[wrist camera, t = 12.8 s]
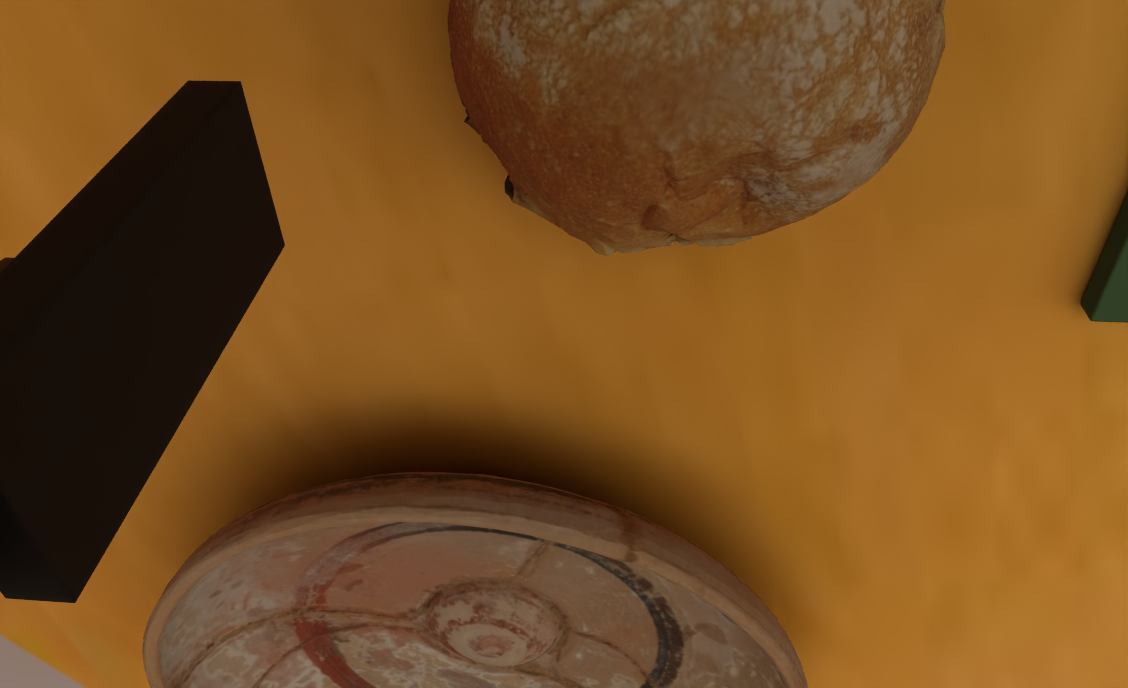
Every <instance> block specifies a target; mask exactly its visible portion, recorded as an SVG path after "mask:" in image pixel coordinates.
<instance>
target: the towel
mask: <svg viewBox="0 0 1128 688" xmlns="http://www.w3.org/2000/svg"><path fill="white" fill-rule="evenodd" d="M1081 306H1082V307H1083V309H1084V311H1085V312H1086V314H1087V316H1088V317H1089V319H1090V320H1091V321H1101V322H1128V194H1127V196H1126V198H1125V201H1124V203H1123V205H1122V208H1121V210H1120V212H1119V215H1118V217H1117V219H1116V222H1115V224H1114V226H1113V229H1112V231H1111V233H1110V236H1109V238H1108V240H1107V243H1106V245H1105V247H1104V250H1103V252H1102V254H1101V257H1100V259H1099V261H1098V264H1097V266H1096V269H1095V271H1094V273H1093V276H1092V278H1091V280H1090V283H1089V285H1088V287H1087V290H1086V292H1085V294H1084V297H1083V299H1082V301H1081Z"/></svg>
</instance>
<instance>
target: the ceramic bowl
mask: <svg viewBox="0 0 1128 688" xmlns="http://www.w3.org/2000/svg"><path fill="white" fill-rule="evenodd" d="M143 639H144V641H143V660H144V667H145V671H146V674H147V677H148V681H149V684H150V686H151V688H808V685H807V681H806V678H805V675H804V672H803V669H802V666H801V663H800V661H799V658H798V656H797V654H796V652H795V650H794V648H793V646H792V644H791V642H790V640H789V638H788V636H787V634H786V632H785V631H784V629H783V628H782V626H781V625H780V623H779V622H778V620H777V618H776V617H775V616H774V615H773V614H772V613H771V611H770V610H769V609H768V608H767V607H766V606H765V605H764V604H763V602H762V601H761V600H760V599H759V598H758V597H757V596H756V595H755V594H754V592H753V591H752V590H750V589H749V588H748V587H747V586H746V585H745V584H744V583H743V582H742V581H740V580H739V579H738V578H737V577H736V576H735V575H734V574H733V573H732V572H730V571H729V570H728V569H727V568H726V567H724V566H723V565H722V564H721V563H719V562H718V561H717V560H715V559H714V558H713V557H711V556H710V555H708V554H707V553H706V552H704V551H703V550H701V549H700V548H699V547H697V546H695V545H694V544H692V543H690V542H689V541H687V540H686V539H684V538H682V537H681V536H679V535H677V534H676V533H674V532H672V531H670V530H668V529H666V528H664V527H662V526H660V525H658V524H656V523H654V522H652V521H650V520H648V519H646V518H644V517H642V516H639V515H637V514H635V513H633V512H631V511H628V510H626V509H623V508H620V507H617V506H615V505H612V504H609V503H606V502H602V501H597V500H594V499H590V498H587V497H584V496H581V495H577V494H574V493H571V492H568V491H564V490H561V489H557V488H553V487H549V486H545V485H541V484H537V483H531V482H526V481H520V480H514V479H508V478H502V477H497V476H491V475H485V474H464V473H442V472H407V473H391V474H381V475H373V476H367V477H360V478H354V479H347V480H341V481H336V482H332V483H328V484H324V485H320V486H316V487H312V488H308V489H304V490H301V491H299V492H296V493H293V494H291V495H288V496H285V497H283V498H280V499H277V500H275V501H272V502H269V503H267V504H265V505H263V506H261V507H259V508H256V509H254V510H252V511H250V512H248V513H247V514H245V515H243V516H241V517H240V518H238V519H236V520H234V521H233V522H231V523H229V524H227V525H226V526H224V527H223V528H222V529H220V530H219V531H218V532H216V533H215V534H214V535H212V536H211V537H210V538H209V539H208V540H207V541H206V542H205V543H203V544H202V545H201V546H200V547H199V548H198V549H197V550H196V551H195V552H194V553H193V554H192V555H191V556H190V557H189V558H188V559H187V560H186V561H185V563H184V564H183V565H182V566H181V568H180V569H179V570H178V572H177V573H176V574H175V576H174V577H173V578H172V579H171V581H170V582H169V583H168V585H167V587H166V588H165V590H164V592H163V594H162V596H161V597H160V599H159V601H158V603H157V605H156V606H155V608H154V610H153V612H152V614H151V616H150V618H149V621H148V623H147V626H146V630H145V633H144V637H143Z"/></svg>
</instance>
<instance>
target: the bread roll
mask: <svg viewBox="0 0 1128 688" xmlns="http://www.w3.org/2000/svg"><path fill="white" fill-rule="evenodd" d="M944 4H945V0H450V3H449V12H448V32H449V39H450V47H451V60H452V67H453V71H454V77H455V82H456V86H457V89H458V92H459V95H460V98H461V101H462V104H463V105H464V106H465V107H466V113H467V118H466V119H465V121H464V122H465V123H467V124H469V125H470V126H471V127H472V128H473V129H474V130H475V131H476V132H477V133H478V134H480V135H481V137H482V139H483V142H485V143H487V144H488V145H489V146H490V148H491V149H492V150H493V152H494V153H495V154H496V155H497V157H498V159H499V160H500V162H501V163H502V165H503V166H504V168H505V169H506V171H507V172H508V176H507V178H506V181H505V193H506V194H507V195H508V196H509V197H510V198H511V200H512V202H514V203H516V204H518V205H521V206H523V207H525V208H527V209H529V210H531V211H532V212H534V213H536V214H538V215H539V216H541V217H543V218H545V219H546V220H548V221H550V222H552V223H553V224H555V225H556V226H558V227H560V228H561V229H563V230H564V231H565V232H567V233H568V234H569V235H571V236H573V237H576V238H578V239H580V240H582V241H584V242H586V243H587V244H588V245H589V246H590V247H591V248H592V249H593V250H594V251H595V252H596V253H599V254H603V255H612V254H613V253H614V252H615V251H619V252H622V253H624V252H632V251H641V250H644V249H648V248H655V247H661V246H670V245H671V244H673V243H674V242H675V241H676V242H678V243H679V244H681V245H689V244H692V243H697V244H699V245H701V246H724V245H733V244H735V243H738V242H740V241H743V240H747V239H751V238H752V236H755V235H760V234H764V233H766V232H769V231H772V230H774V229H777V228H780V227H782V226H785V225H788V224H791V223H794V222H796V221H799V220H802V219H805V218H807V217H809V216H811V215H814V214H815V213H817V212H819V211H820V210H822V209H824V208H825V207H827V206H829V205H831V204H833V203H835V202H837V201H839V200H841V199H842V198H843V197H845V196H846V195H848V194H849V193H850V192H852V191H853V190H855V189H856V188H858V187H859V186H861V185H862V184H864V183H865V182H867V181H868V180H869V179H871V178H872V177H873V176H874V175H875V174H876V173H877V172H878V171H879V170H880V169H881V168H882V167H883V166H884V165H885V164H886V163H887V162H888V160H889V159H890V158H891V157H892V155H893V154H894V153H895V152H896V150H897V149H898V148H899V147H900V145H901V144H902V143H903V142H904V140H905V139H906V138H907V136H908V135H909V134H910V132H911V130H912V128H913V126H914V124H915V122H916V120H917V118H918V116H919V114H920V112H921V110H922V108H923V107H924V105H925V104H926V101H927V98H928V95H929V91H930V88H931V85H932V82H933V79H934V76H935V73H936V71H937V68H938V65H939V62H940V59H941V57H942V54H943V51H944V48H945V24H944V16H943V9H944Z"/></svg>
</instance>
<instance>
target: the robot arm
mask: <svg viewBox="0 0 1128 688" xmlns="http://www.w3.org/2000/svg"><path fill="white" fill-rule="evenodd" d="M284 246H285V244H284V240H283V236H282V233H281V229H280V225H279V221H278V218H277V214H276V210H275V207H274V203H273V199H272V196H271V192H270V188H269V185H268V181H267V177H266V173H265V170H264V166H263V162H262V159H261V155H260V151H259V148H258V144H257V140H256V136H255V133H254V129H253V125H252V122H251V118H250V114H249V111H248V107H247V103H246V99H245V96H244V92H243V88H242V85H241V81H187V82H186V84H185V85H184V86H183V87H182V88H181V89H180V90H179V91H178V92H177V93H176V94H175V95H174V96H173V97H172V98H171V99H170V100H169V101H168V102H167V103H166V104H165V105H164V106H163V107H162V108H161V109H160V110H159V111H158V112H157V113H156V114H155V115H154V116H153V117H152V118H151V119H150V120H149V121H148V122H147V123H146V124H145V125H144V126H143V127H142V128H141V130H140V131H139V132H138V133H137V134H136V135H135V136H134V137H133V138H132V139H131V140H130V141H129V142H128V143H127V144H126V145H125V146H124V147H123V148H122V149H121V150H120V151H119V152H118V153H117V154H116V155H115V156H114V157H113V158H112V159H111V160H110V161H109V162H108V163H107V164H106V165H105V166H104V167H103V168H102V169H101V170H100V171H99V172H98V173H97V174H96V176H95V177H94V178H93V179H92V180H91V181H90V182H89V183H88V184H87V185H86V186H85V187H84V188H83V189H82V190H81V191H80V192H79V193H78V194H77V195H76V196H75V197H74V198H73V199H72V200H71V201H70V202H69V203H68V204H67V205H66V206H65V207H64V208H63V209H62V210H61V211H60V212H59V213H58V214H57V215H56V216H55V217H54V218H53V219H52V220H51V221H50V223H49V224H48V225H47V226H46V227H45V228H44V229H43V230H42V231H41V232H40V233H39V234H38V235H37V236H36V237H35V238H34V239H33V240H32V241H31V242H30V243H29V244H28V245H27V246H26V247H25V248H24V249H23V250H22V251H21V252H20V253H19V254H18V255H17V256H16V257H15V258H4V259H2V260H1V261H0V591H1V593H2V594H3V595H4V597H5V598H9V599H24V600H38V601H53V602H68V603H75V602H76V601H77V599H78V597H79V596H80V594H81V592H82V590H83V589H84V587H85V585H86V584H87V582H88V580H89V578H90V577H91V575H92V573H93V572H94V570H95V568H96V567H97V565H98V563H99V561H100V560H101V558H102V556H103V555H104V553H105V551H106V549H107V548H108V546H109V544H110V543H111V541H112V539H113V538H114V536H115V534H116V532H117V531H118V529H119V527H120V526H121V524H122V522H123V521H124V519H125V517H126V515H127V514H128V512H129V510H130V509H131V507H132V505H133V503H134V502H135V500H136V498H137V497H138V495H139V493H140V492H141V490H142V488H143V486H144V485H145V483H146V481H147V480H148V478H149V476H150V474H151V473H152V471H153V469H154V468H155V466H156V464H157V463H158V461H159V459H160V457H161V456H162V454H163V452H164V451H165V449H166V447H167V445H168V444H169V442H170V440H171V439H172V437H173V435H174V434H175V432H176V430H177V428H178V427H179V425H180V423H181V422H182V420H183V418H184V417H185V415H186V413H187V411H188V410H189V408H190V406H191V405H192V403H193V401H194V399H195V398H196V396H197V394H198V393H199V391H200V389H201V388H202V386H203V384H204V382H205V381H206V379H207V377H208V376H209V374H210V372H211V370H212V369H213V367H214V365H215V364H216V362H217V360H218V359H219V357H220V355H221V353H222V352H223V350H224V348H225V347H226V345H227V343H228V341H229V340H230V338H231V336H232V335H233V333H234V331H235V330H236V328H237V326H238V324H239V323H240V321H241V319H242V318H243V316H244V314H245V313H246V311H247V309H248V307H249V306H250V304H251V302H252V301H253V299H254V297H255V295H256V294H257V292H258V290H259V289H260V287H261V285H262V284H263V282H264V280H265V278H266V277H267V275H268V273H269V272H270V270H271V268H272V266H273V265H274V263H275V261H276V260H277V258H278V256H279V255H280V253H281V251H282V249H283V248H284Z"/></svg>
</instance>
